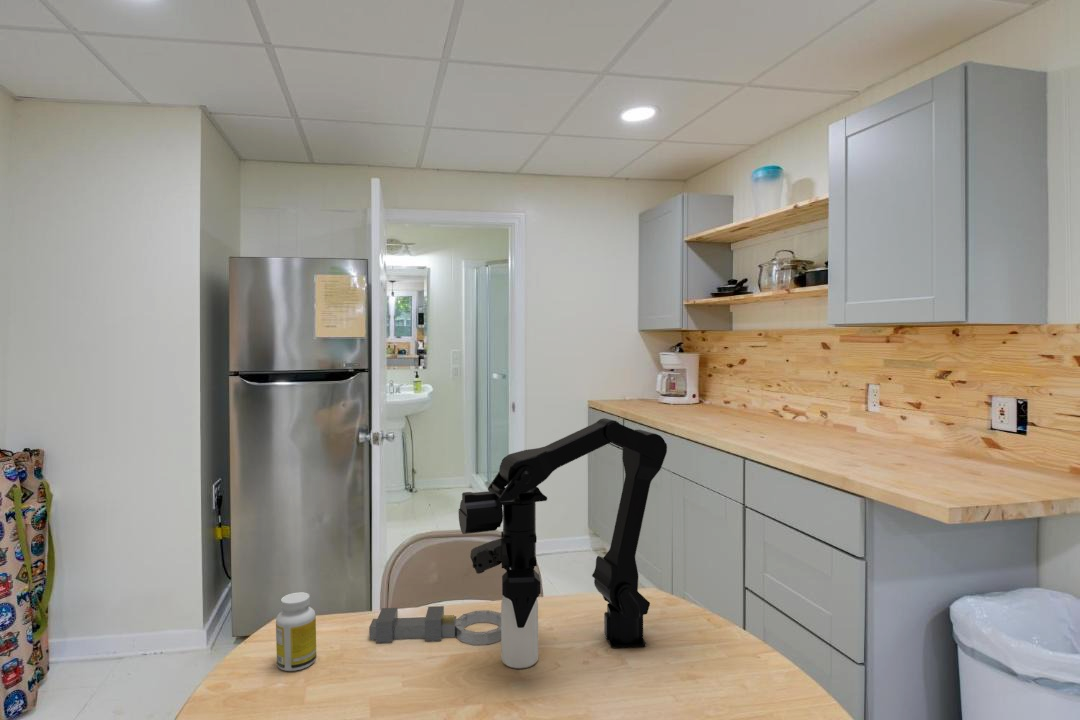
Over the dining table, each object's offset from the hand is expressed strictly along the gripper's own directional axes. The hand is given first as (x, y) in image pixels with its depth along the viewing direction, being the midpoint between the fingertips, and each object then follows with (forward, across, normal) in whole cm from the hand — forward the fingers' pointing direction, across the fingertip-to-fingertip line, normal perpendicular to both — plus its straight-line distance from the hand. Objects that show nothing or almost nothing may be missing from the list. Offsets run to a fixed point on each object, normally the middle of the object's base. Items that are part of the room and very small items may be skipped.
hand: (519, 615), depth 107 cm
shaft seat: (+8, -11, -15) cm, 20 cm away
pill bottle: (+8, -2, -39) cm, 40 cm away
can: (+8, 0, 0) cm, 8 cm away
